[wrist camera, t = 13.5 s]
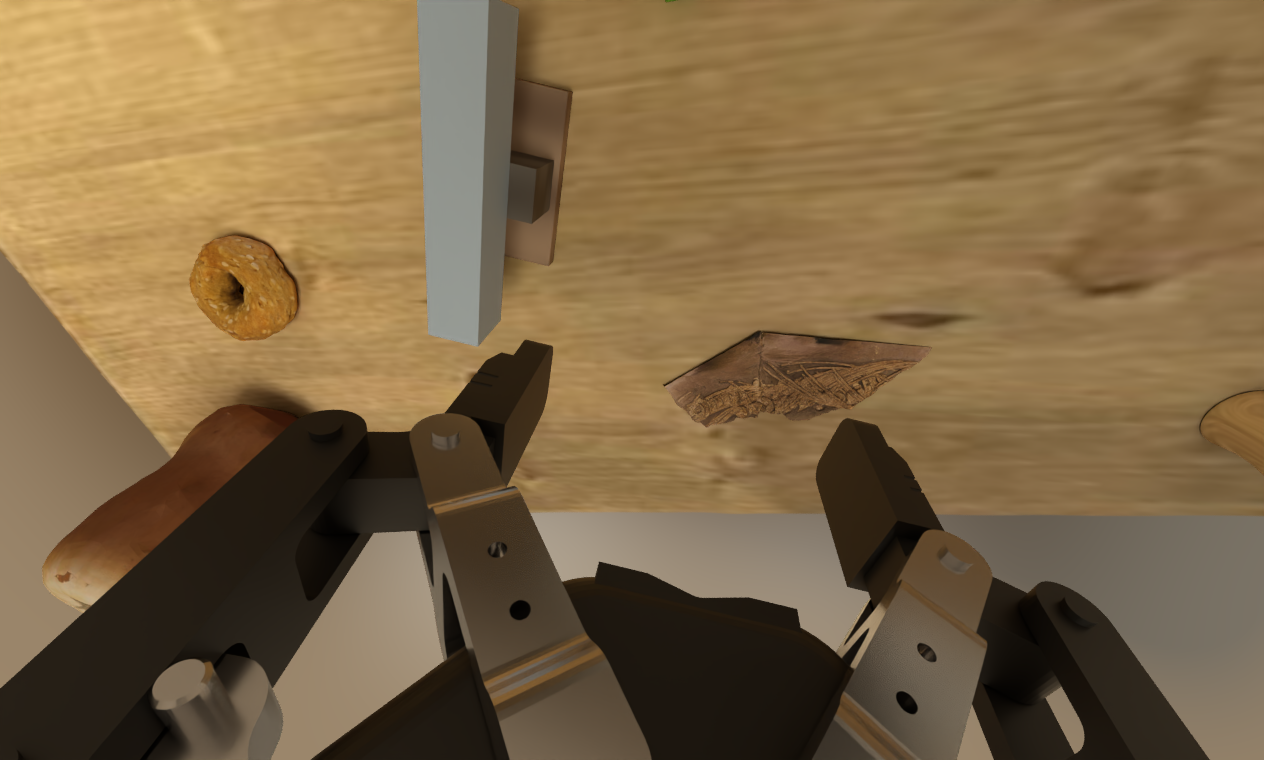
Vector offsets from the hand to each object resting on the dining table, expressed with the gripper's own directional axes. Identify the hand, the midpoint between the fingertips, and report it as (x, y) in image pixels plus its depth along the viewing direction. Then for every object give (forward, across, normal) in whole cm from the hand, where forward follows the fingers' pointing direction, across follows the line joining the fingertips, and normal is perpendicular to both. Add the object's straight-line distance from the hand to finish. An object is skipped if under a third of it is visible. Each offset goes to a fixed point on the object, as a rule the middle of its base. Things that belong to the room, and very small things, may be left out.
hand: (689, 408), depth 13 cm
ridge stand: (+32, +16, +2) cm, 36 cm away
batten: (+26, +16, +2) cm, 30 cm away
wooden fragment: (+33, -14, +15) cm, 39 cm away
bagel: (+32, +43, +19) cm, 57 cm away
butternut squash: (+32, +42, +39) cm, 66 cm away
